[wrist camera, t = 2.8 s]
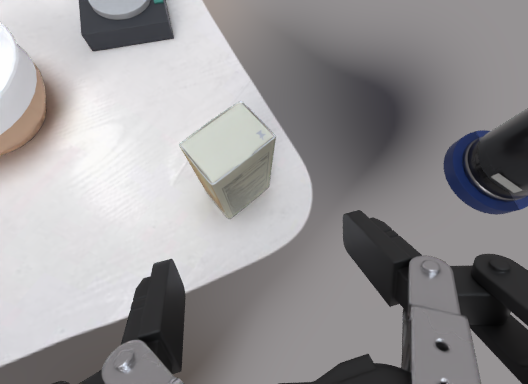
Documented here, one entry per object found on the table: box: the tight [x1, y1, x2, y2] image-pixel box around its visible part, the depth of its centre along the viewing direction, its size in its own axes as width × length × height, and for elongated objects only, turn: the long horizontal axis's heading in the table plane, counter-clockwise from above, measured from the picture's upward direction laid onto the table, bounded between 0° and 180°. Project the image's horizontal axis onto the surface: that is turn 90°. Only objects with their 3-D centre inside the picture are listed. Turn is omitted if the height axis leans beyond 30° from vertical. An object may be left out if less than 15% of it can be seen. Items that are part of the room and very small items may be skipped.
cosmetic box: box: [179, 101, 276, 219], centre depth 26 cm, size 6×4×12 cm
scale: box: [79, 0, 174, 51], centre depth 37 cm, size 11×11×3 cm
